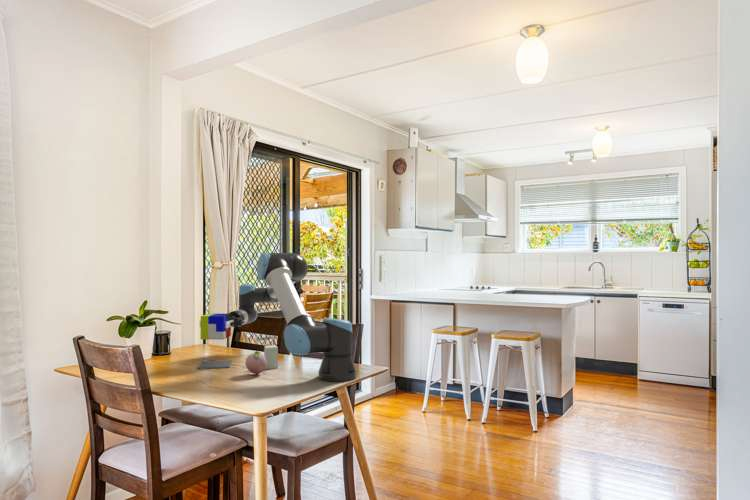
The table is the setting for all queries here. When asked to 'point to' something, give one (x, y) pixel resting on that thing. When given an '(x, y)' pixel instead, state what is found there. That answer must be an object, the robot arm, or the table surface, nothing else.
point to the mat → (214, 364)
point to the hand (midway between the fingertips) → (213, 324)
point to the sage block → (271, 356)
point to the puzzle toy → (215, 326)
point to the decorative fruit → (256, 362)
